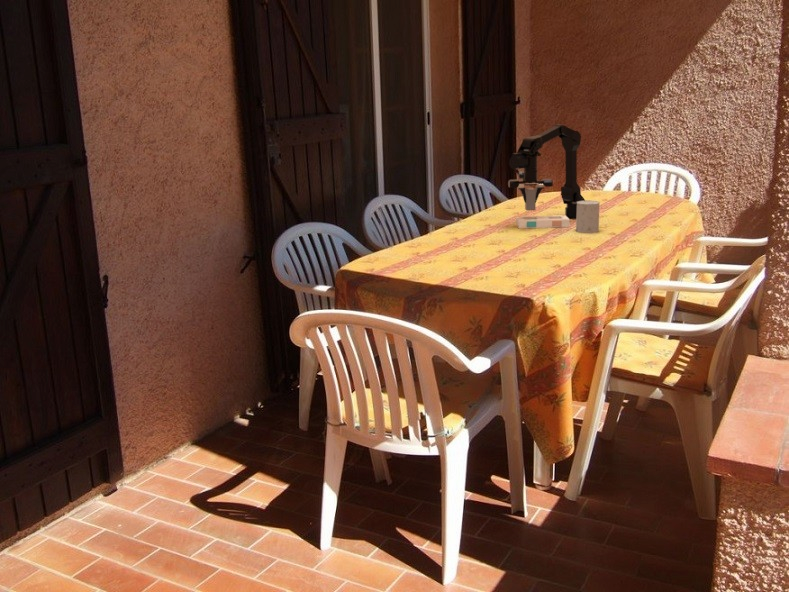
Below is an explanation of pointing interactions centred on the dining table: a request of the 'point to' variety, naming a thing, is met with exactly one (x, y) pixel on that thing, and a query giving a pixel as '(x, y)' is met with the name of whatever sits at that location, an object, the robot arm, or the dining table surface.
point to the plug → (530, 199)
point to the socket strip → (542, 221)
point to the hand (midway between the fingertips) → (530, 202)
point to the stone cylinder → (587, 216)
